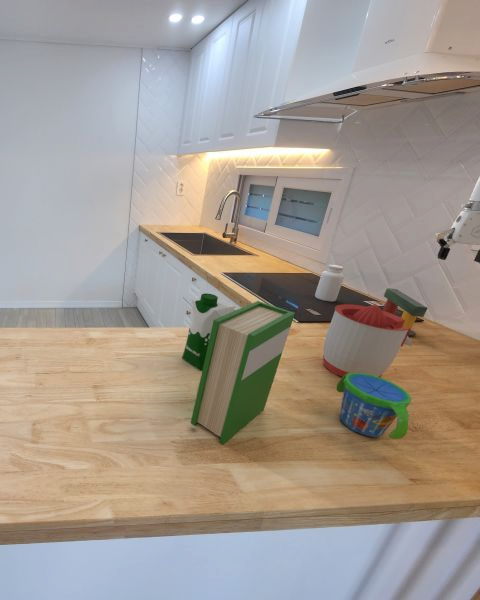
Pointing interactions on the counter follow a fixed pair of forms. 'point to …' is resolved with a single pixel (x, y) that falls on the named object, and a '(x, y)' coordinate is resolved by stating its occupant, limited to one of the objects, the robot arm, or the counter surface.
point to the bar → (405, 302)
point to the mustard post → (408, 323)
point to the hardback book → (240, 367)
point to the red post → (390, 307)
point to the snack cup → (373, 405)
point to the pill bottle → (330, 283)
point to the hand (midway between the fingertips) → (459, 260)
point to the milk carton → (203, 327)
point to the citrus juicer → (363, 340)
